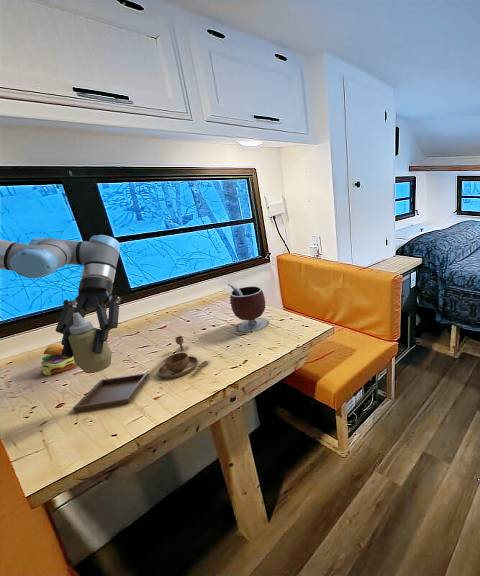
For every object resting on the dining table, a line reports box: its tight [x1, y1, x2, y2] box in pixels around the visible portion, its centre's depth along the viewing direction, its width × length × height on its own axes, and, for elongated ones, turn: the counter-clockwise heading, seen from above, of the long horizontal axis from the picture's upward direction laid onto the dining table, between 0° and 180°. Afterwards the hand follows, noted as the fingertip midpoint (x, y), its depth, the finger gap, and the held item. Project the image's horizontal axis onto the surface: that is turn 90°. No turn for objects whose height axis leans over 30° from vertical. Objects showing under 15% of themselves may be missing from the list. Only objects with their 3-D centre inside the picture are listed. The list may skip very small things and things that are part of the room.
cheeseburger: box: [40, 344, 78, 376], centre depth 110 cm, size 10×11×10 cm
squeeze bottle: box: [68, 312, 113, 374], centre depth 87 cm, size 8×8×18 cm
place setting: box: [157, 335, 208, 379], centre depth 111 cm, size 18×20×6 cm
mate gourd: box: [227, 283, 268, 333], centre depth 135 cm, size 16×14×20 cm
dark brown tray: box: [72, 372, 150, 413], centre depth 96 cm, size 14×14×2 cm
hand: (81, 354), depth 85 cm, fingers closed on squeeze bottle, 6 cm apart
